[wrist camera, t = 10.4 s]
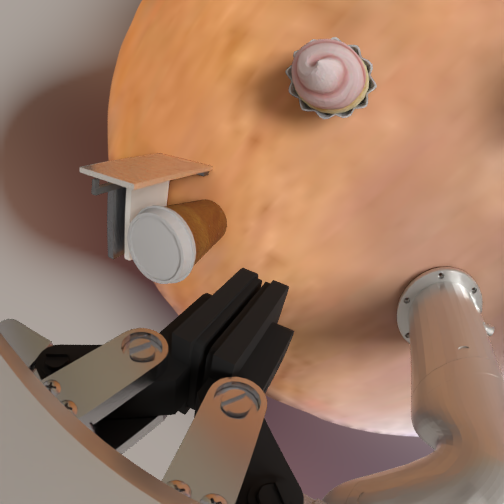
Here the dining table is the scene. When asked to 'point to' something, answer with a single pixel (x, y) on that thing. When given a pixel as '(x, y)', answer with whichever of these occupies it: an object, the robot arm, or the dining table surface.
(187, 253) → the disposable coffee cup
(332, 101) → the cupcake
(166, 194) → the pale grey flat panel
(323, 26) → the dining table surface
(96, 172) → the gauge frame
